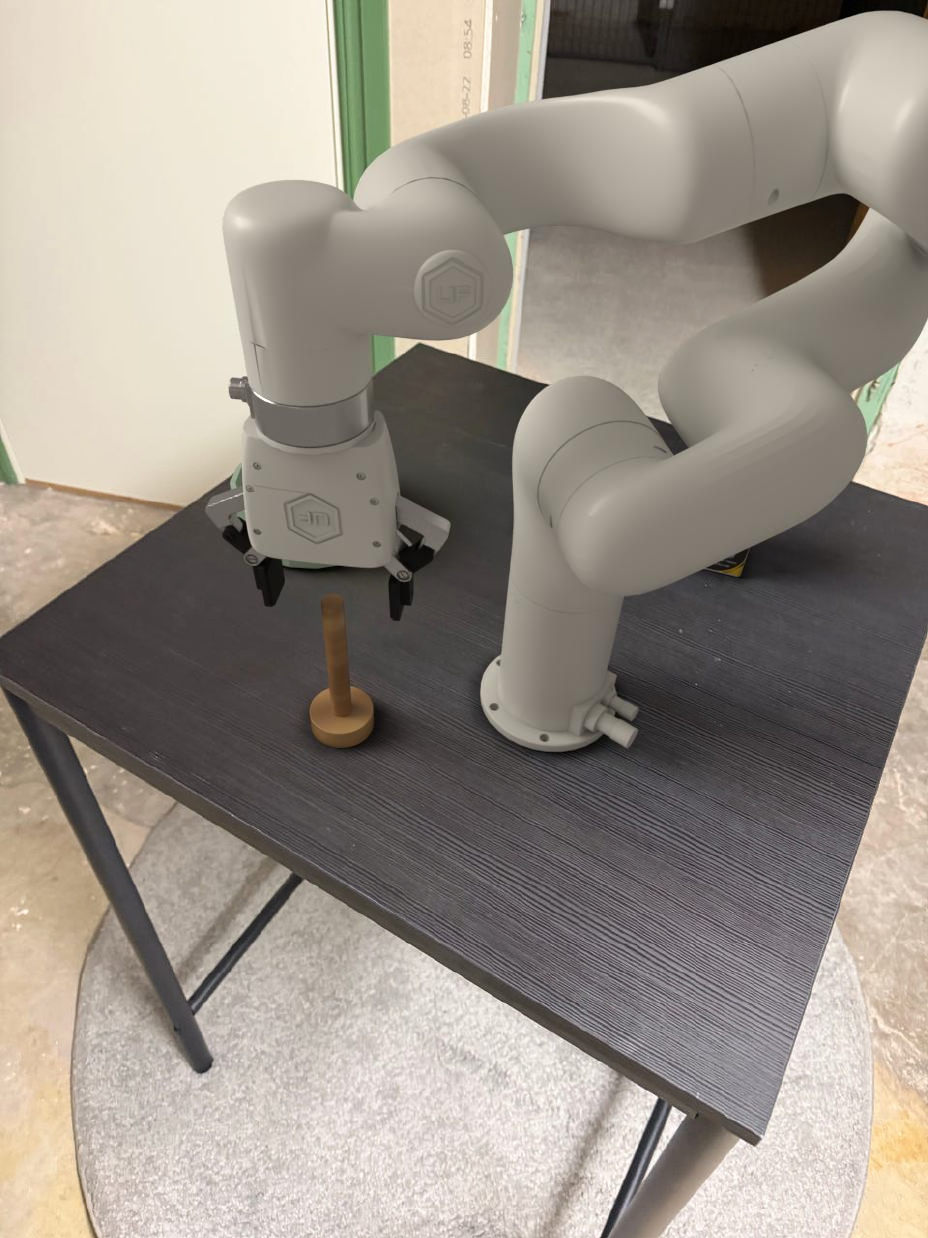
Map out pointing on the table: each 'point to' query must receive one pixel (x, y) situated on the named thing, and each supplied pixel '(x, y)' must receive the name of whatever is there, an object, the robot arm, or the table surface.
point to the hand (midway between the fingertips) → (336, 601)
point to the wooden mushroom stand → (339, 687)
